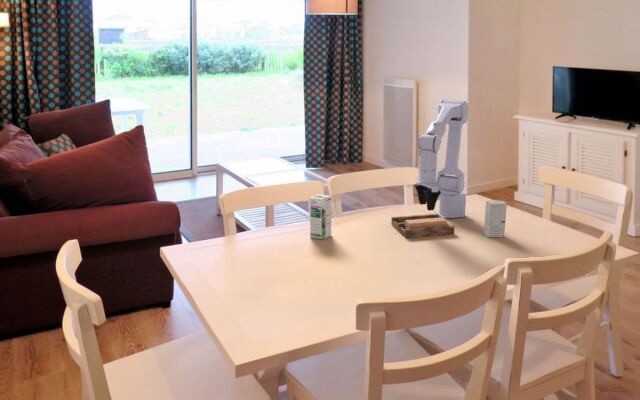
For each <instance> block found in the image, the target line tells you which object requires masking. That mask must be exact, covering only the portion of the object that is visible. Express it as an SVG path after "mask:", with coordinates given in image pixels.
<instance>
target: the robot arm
mask: <svg viewBox="0 0 640 400" xmlns="http://www.w3.org/2000/svg"><path fill="white" fill-rule="evenodd" d="M437 112H438V116H437V118H436V120H434V121H432V122H431V123H430V125H429V127H428V128H427V130H426V131H425V132H424V134H422V135H420V136H419V137H418V140H417V151H418V157H419V175H418V176H417V181H416V182H415V184H414V185H413V186H414V187H415V191H416V193H417V197H418V198H417V199H418V203H419V205H420V206H421V205H426V209H427V211H434V210H435V208H436V203H437V201H438V199H439V210H438V211H435V212H434V214H439V218H441V217H443V218H444V219H454V218H466V217H467V216H466V204H467V203H466V202H467V201H466V200H467V199H466V195H465V193H464V192H463V191H464V189H465V183H466V182H465V173H464V172H463V171H462V170H461V169H460V168H459V159H460V150H461V149H460V147H461V139H462V131H463V130H462V129H463V125H464V124H466V123H467V122H468V118H469V103H468V101H466V100H453V99H452V100H449V99H441V100H440V101H439V103H438V106H437ZM447 124H448V132H447V133H448V134H447V142H446V151H445V159H444V160H445V162H444V167H443V168H441V169H439V170H438V172H437V165H438V164H437V163H438V152H439V150H440V148H441V143H442V138H443V137H444V135H445V133H446V130H447V128H446V126H447Z"/></svg>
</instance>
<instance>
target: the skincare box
mask: <svg viewBox="0 0 640 400" xmlns="http://www.w3.org/2000/svg"><path fill="white" fill-rule="evenodd" d="M507 206H508V205H507V202H505V201H503V200H486V202H485V211H484V213H485V214H484V227H483V234H484V235H485V236H486V237H487V238H503V237H505V232H506V231H505V229H506V216H507V208H508V207H507Z"/></svg>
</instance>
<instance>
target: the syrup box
mask: <svg viewBox="0 0 640 400" xmlns="http://www.w3.org/2000/svg"><path fill="white" fill-rule="evenodd" d="M309 227H310V228H309V230H310V231H309V235H310V236H309V237H310V238H311V239H312V238H313V239H320V240H323V241H324V240H326V239H328V238H329V237H331V235H332V196H331V195H324V194H317V193H316V194H315V195H312V196H310V198H309Z"/></svg>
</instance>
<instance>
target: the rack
mask: <svg viewBox="0 0 640 400" xmlns="http://www.w3.org/2000/svg"><path fill="white" fill-rule="evenodd" d="M428 218H440V216H439V214H436V213H429V214H428V213H427V214H416V215H415V214H414V215H401V216H391V226H392V227H393V228H394V229H396V230H397V232H398V233H400V234H401V236H403V237H404V238H405V239H411V238H413V239H414V238H423V237H424V238H425V237H437V236H449V235H455V225H453V224H452V225H450V224H449V223H447V226H436V227H423V228H410V229H405V220H414V219H428Z"/></svg>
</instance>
